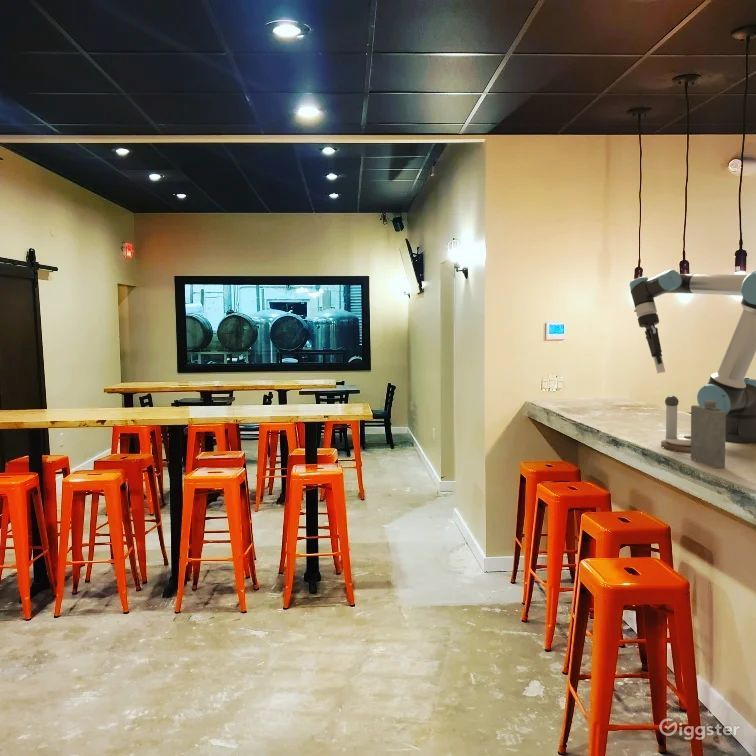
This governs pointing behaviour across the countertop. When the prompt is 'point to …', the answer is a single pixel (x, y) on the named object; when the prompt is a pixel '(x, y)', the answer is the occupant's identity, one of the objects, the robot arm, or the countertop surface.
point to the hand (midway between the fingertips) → (661, 372)
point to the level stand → (675, 447)
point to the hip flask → (708, 434)
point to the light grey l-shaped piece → (674, 424)
